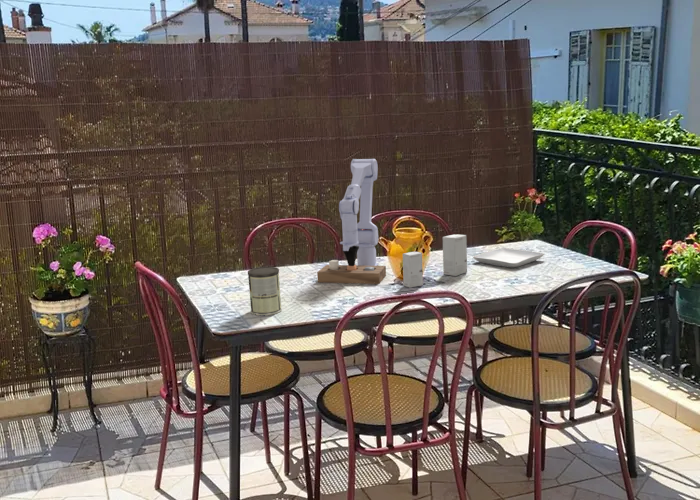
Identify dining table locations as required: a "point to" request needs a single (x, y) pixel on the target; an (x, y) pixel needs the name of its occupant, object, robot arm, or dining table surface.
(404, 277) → the skincare box
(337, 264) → the cream plunger
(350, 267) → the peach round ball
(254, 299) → the coffee can
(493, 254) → the salad plate
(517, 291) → the dining table surface
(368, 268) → the slate plunger
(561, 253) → the dining table surface
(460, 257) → the skincare box
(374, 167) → the robot arm
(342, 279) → the walnut button box
